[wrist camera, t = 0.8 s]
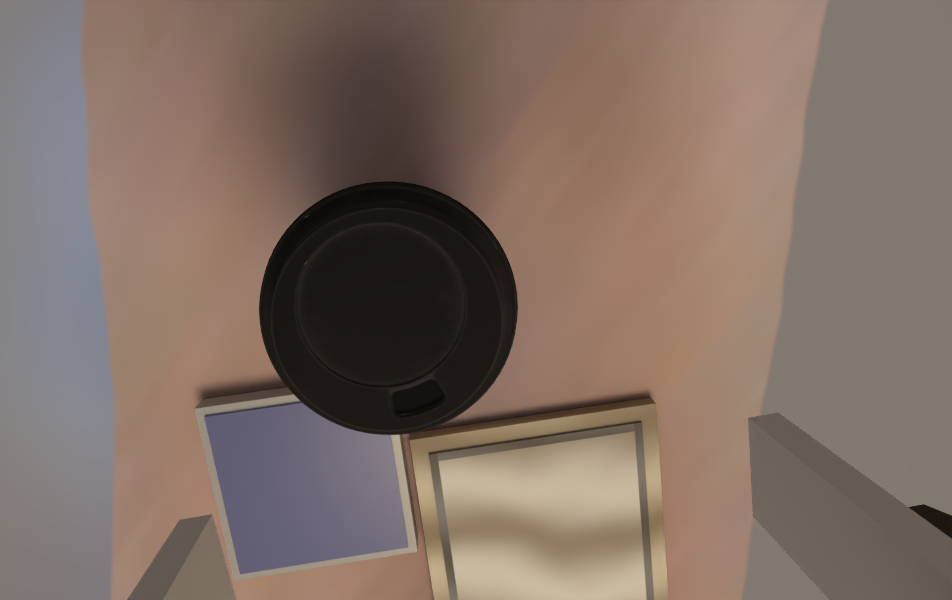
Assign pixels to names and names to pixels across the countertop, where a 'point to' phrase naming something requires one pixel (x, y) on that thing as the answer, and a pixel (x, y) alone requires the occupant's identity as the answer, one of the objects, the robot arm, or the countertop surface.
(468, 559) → the board
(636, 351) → the countertop surface
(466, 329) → the coffee cup
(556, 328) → the countertop surface
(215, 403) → the ink pad
